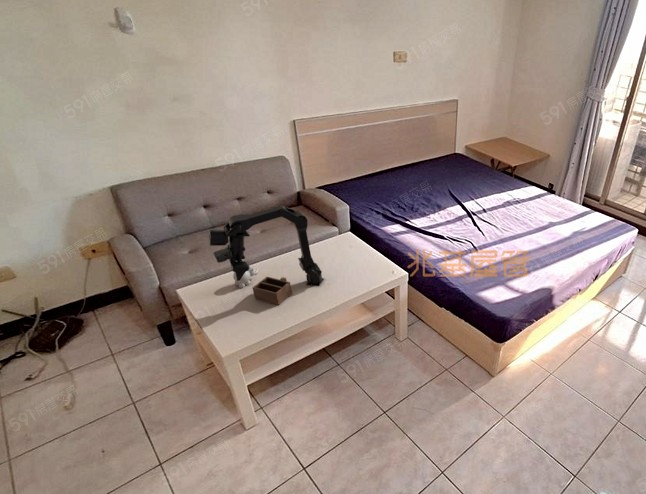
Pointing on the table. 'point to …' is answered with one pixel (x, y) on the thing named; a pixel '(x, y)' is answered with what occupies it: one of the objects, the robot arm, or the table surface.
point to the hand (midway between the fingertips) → (235, 275)
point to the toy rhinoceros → (245, 277)
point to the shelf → (272, 290)
